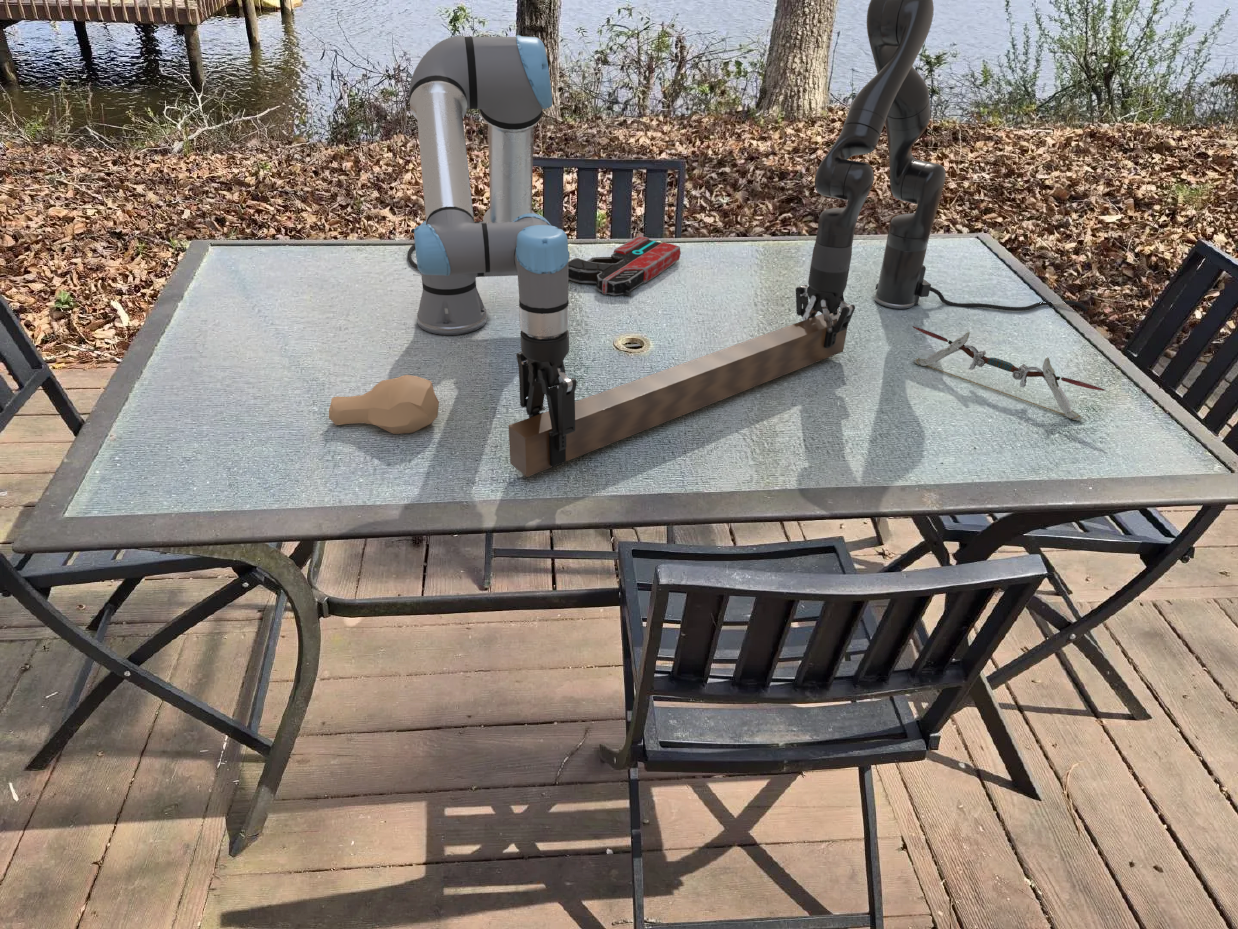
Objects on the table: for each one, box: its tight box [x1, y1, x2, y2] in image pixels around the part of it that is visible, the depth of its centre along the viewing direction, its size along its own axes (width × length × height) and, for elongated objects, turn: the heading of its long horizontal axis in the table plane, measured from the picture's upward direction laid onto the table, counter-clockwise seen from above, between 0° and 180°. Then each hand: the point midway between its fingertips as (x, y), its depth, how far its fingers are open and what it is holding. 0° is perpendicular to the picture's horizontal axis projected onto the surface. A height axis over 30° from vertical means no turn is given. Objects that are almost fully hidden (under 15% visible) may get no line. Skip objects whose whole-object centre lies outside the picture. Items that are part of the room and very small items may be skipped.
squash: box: [328, 374, 440, 435], centre depth 157 cm, size 11×20×9 cm, turn 90°
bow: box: [912, 325, 1106, 421], centre depth 173 cm, size 39×2×10 cm, turn 47°
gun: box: [568, 235, 682, 297], centre depth 223 cm, size 4×31×19 cm
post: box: [508, 313, 849, 478], centre depth 164 cm, size 80×5×8 cm, turn 128°
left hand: (548, 455), depth 148 cm, fingers closed on post, 5 cm apart
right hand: (817, 341), depth 182 cm, fingers closed on post, 5 cm apart
